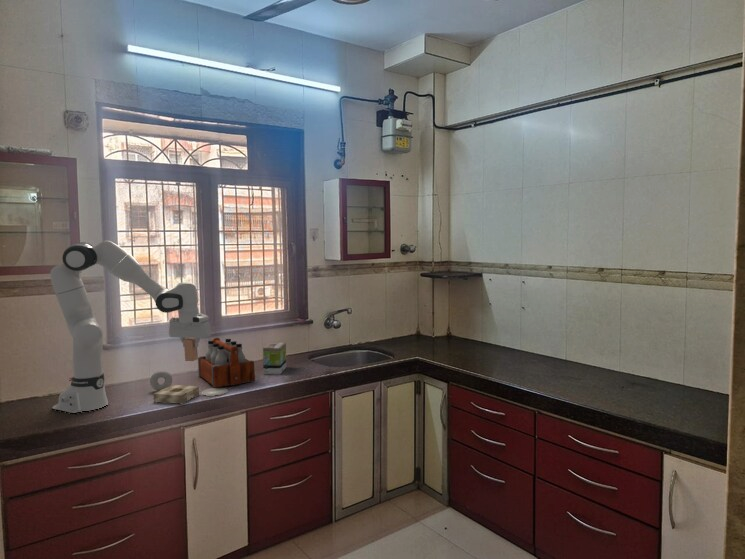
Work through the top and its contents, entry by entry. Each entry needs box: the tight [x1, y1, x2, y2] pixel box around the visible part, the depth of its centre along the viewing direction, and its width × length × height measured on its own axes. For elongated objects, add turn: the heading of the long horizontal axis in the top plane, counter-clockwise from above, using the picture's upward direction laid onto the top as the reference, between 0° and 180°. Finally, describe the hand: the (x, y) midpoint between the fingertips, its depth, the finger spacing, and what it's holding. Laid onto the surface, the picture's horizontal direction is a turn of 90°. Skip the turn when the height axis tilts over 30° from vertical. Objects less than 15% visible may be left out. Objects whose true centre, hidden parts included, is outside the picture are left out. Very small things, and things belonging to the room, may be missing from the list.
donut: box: [149, 369, 173, 392], centre depth 243 cm, size 10×4×10 cm, turn 108°
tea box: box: [262, 342, 287, 375], centre depth 278 cm, size 15×10×15 cm
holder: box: [152, 384, 200, 405], centre depth 231 cm, size 14×14×4 cm
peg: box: [183, 338, 199, 362], centre depth 232 cm, size 4×4×10 cm
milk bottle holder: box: [197, 337, 256, 388], centre depth 262 cm, size 21×35×19 cm, turn 33°
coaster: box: [200, 387, 228, 397], centre depth 240 cm, size 12×12×1 cm
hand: (190, 347), depth 232 cm, fingers closed on peg, 4 cm apart
